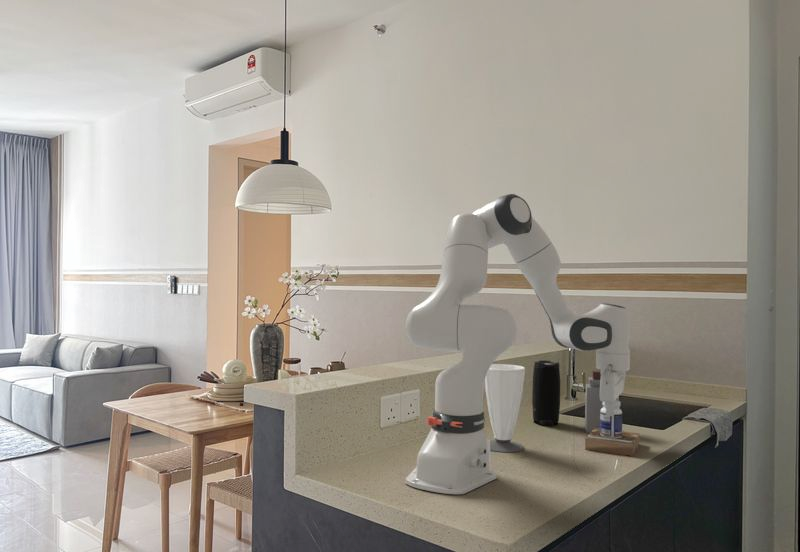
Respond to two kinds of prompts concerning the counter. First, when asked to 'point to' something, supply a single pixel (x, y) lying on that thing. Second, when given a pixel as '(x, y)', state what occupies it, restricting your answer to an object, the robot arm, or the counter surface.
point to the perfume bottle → (593, 402)
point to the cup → (504, 404)
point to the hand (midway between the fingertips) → (611, 413)
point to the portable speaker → (546, 392)
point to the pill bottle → (611, 422)
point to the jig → (612, 443)
